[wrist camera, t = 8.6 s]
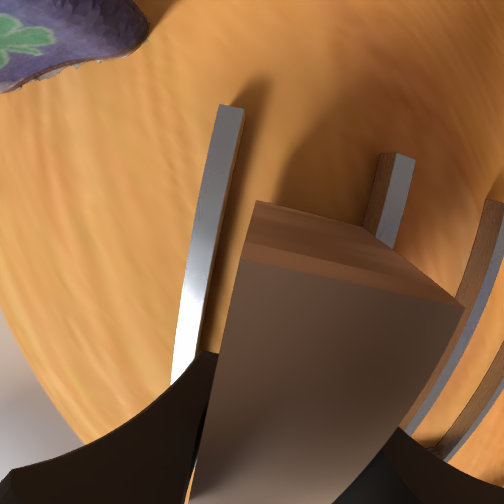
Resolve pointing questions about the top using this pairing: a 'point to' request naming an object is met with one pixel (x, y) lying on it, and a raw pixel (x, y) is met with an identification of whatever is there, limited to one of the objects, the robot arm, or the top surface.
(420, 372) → the taupe rectangular box
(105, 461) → the robot arm
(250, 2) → the top surface
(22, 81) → the flask
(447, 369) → the notch rack
